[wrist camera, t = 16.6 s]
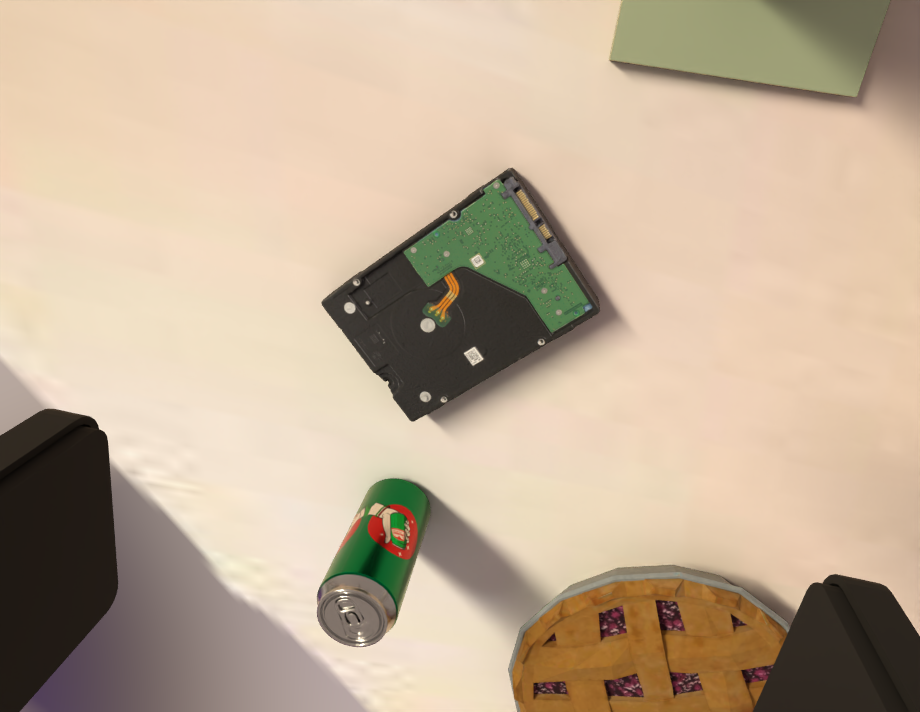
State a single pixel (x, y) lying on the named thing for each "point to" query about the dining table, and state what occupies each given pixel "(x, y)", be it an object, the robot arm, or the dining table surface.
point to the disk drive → (463, 297)
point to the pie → (647, 645)
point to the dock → (754, 40)
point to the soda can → (374, 564)
